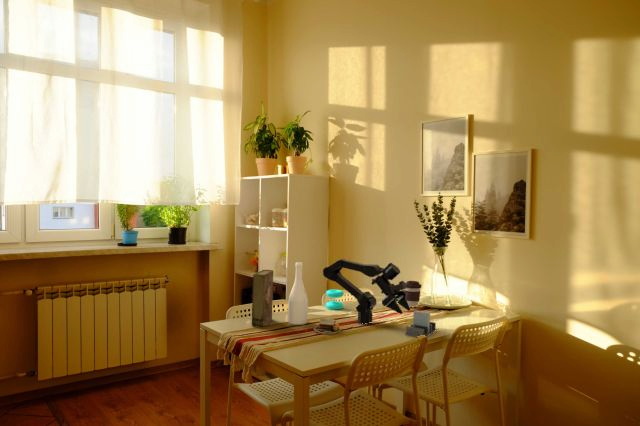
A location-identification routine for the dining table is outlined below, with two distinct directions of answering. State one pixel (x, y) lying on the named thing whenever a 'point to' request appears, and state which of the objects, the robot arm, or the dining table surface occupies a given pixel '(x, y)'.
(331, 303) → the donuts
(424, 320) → the tall grey-blue box
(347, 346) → the dining table surface
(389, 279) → the robot arm
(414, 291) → the coffee cup
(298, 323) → the wine bottle
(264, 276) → the book
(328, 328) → the toy sandwich meal
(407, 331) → the dish rack
